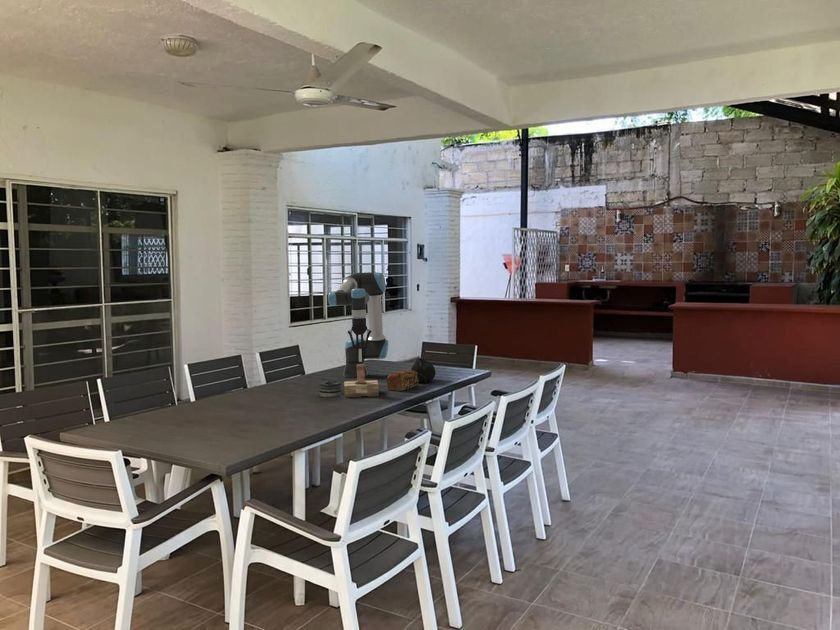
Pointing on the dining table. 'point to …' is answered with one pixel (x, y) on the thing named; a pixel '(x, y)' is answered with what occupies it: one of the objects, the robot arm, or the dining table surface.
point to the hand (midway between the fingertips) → (360, 361)
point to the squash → (424, 370)
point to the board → (361, 388)
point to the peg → (360, 374)
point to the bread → (402, 380)
